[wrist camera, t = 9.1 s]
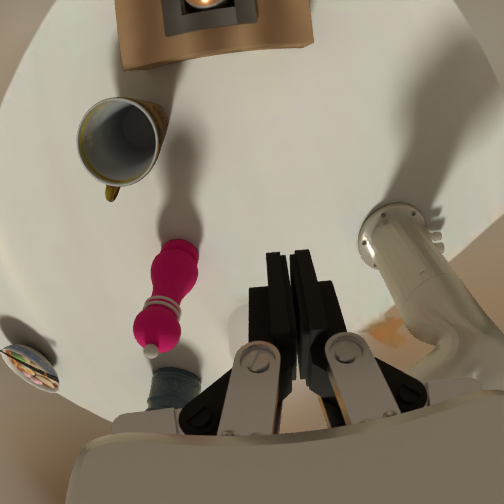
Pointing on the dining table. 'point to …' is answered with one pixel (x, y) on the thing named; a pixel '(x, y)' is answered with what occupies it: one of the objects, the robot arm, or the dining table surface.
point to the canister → (172, 389)
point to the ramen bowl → (31, 367)
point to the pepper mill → (166, 297)
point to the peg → (209, 4)
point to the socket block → (207, 29)
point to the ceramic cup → (121, 141)
